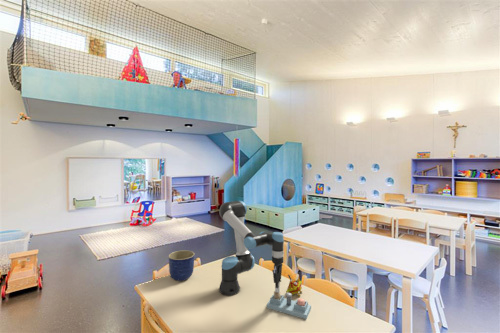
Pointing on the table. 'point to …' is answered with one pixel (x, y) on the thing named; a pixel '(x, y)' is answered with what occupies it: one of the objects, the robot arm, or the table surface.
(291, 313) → the mount board
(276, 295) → the knob beech
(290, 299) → the dial post
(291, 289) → the toy
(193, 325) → the table surface
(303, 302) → the knob coral
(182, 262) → the planter
